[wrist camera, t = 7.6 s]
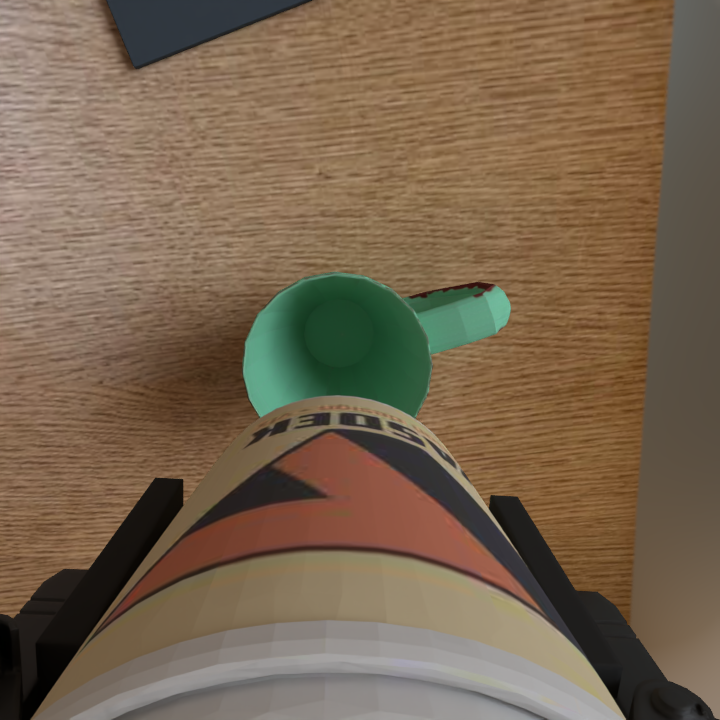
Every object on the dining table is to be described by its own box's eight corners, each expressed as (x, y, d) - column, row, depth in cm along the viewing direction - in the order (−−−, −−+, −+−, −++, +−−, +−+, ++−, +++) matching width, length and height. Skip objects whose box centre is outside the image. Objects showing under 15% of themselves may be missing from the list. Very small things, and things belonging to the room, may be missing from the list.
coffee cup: (534, 403, 17) (959, 816, 5) (448, 678, 19) (616, 1413, 7) (207, 330, 16) (-145, 621, 5) (154, 624, 18) (-183, 1347, 7)
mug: (296, 421, 34) (282, 482, 26) (243, 288, 32) (211, 311, 24) (496, 352, 34) (544, 393, 26) (454, 213, 32) (491, 211, 24)
